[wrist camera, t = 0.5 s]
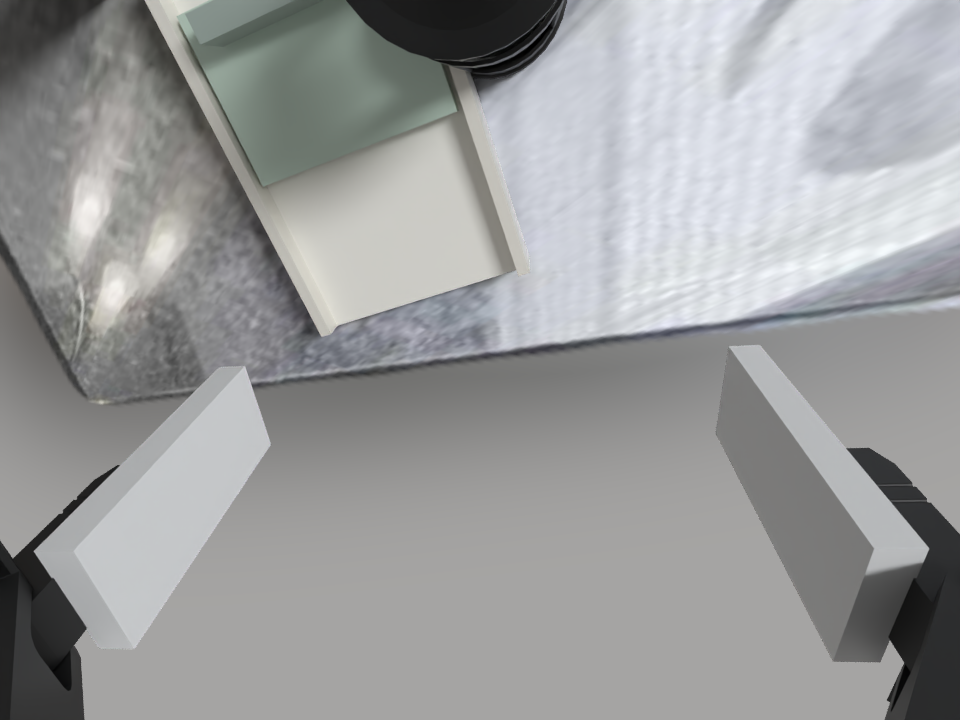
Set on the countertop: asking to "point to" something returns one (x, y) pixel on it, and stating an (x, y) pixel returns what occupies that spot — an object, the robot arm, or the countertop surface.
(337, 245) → the housing
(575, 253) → the countertop surface
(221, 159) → the countertop surface
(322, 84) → the lid
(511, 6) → the french press
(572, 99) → the countertop surface
